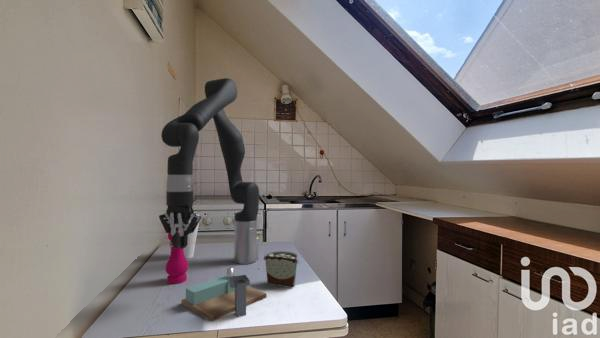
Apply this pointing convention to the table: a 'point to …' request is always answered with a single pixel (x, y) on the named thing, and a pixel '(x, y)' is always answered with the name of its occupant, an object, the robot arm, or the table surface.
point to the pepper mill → (176, 265)
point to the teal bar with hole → (208, 290)
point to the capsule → (229, 272)
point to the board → (223, 304)
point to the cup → (191, 242)
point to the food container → (281, 268)
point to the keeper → (239, 292)
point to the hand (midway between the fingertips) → (179, 247)
